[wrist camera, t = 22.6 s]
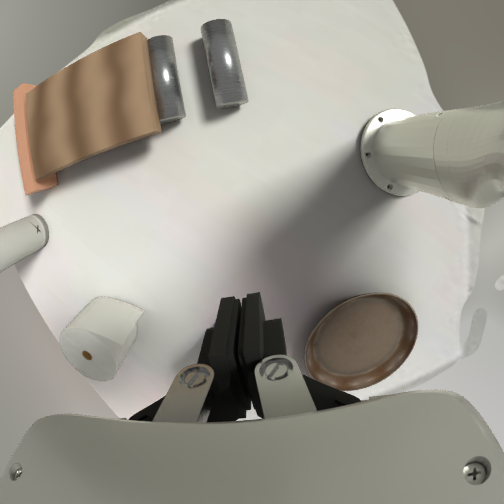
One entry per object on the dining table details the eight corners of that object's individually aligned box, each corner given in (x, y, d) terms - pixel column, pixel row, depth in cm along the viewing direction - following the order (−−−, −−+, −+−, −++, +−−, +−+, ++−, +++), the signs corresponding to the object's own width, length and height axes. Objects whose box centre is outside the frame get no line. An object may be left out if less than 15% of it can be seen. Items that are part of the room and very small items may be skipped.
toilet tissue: (82, 326, 45) (57, 357, 36) (95, 278, 42) (63, 307, 32) (129, 355, 47) (109, 391, 38) (148, 311, 43) (125, 347, 34)
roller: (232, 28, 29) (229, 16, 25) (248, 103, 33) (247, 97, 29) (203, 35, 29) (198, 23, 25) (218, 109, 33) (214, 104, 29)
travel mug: (50, 215, 38) (-36, 256, 19) (49, 251, 40) (-28, 301, 21) (27, 208, 38) (-54, 243, 19) (27, 242, 40) (-47, 286, 21)
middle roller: (177, 39, 29) (161, 32, 25) (191, 115, 33) (174, 113, 29) (154, 50, 30) (137, 45, 27) (166, 124, 34) (149, 123, 31)
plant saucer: (294, 299, 42) (297, 310, 39) (414, 272, 41) (423, 280, 38) (307, 388, 49) (309, 400, 46) (405, 363, 47) (411, 373, 44)
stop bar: (45, 87, 31) (23, 83, 25) (58, 184, 36) (35, 190, 31) (35, 93, 31) (13, 90, 25) (48, 188, 37) (25, 195, 31)
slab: (147, 38, 26) (140, 31, 24) (161, 132, 31) (154, 130, 28) (35, 95, 28) (25, 93, 25) (46, 177, 32) (35, 179, 30)
